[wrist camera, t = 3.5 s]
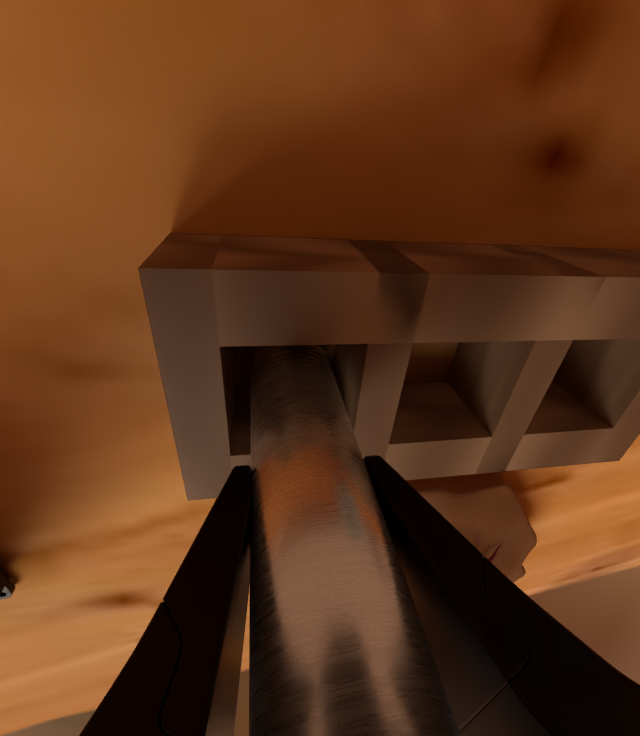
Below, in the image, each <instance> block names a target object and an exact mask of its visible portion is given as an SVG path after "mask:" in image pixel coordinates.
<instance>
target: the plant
mask: <svg viewBox="0 0 640 736" xmlns="http://www.w3.org/2000/svg"><path fill="white" fill-rule="evenodd" d="M406 481H407V482H408V483H409V484H410V485H411V486H412V487H413V488H414V489H415V490H416V491H417V492H418V493H419V494H421V495H422V496H423V497H424V498H425V499H426V500H427V501H428V502H429V503H430V504H431V505H432V506H433V507H434V508H435V509H436V510H437V511H438V512H439V513H440V514H441V515H442V516H443V517H444V518H446V519H447V520H448V521H449V522H450V523H451V524H452V525H453V526H454V527H455V528H456V529H457V530H458V531H459V532H460V533H461V534H462V535H463V536H464V537H465V538H466V539H467V540H468V541H469V542H471V543H472V544H473V545H474V546H475V547H476V548H477V549H478V550H479V551H480V552H481V553H482V554H483V557H486V558H487V559H488V560H489V561H490V562H492V563H493V564H494V565H495V566H496V567H497V568H498V569H499V570H500V571H501V572H502V573H503V574H504V575H505V576H506V577H507V578H509V579H510V580H511V581H512V582H515V581H516V580H518V579H519V578H521V577H523V576H524V575H525V573H526V572H525V569H524V567H523V566H522V563H523V561H524V560H525V558H526V557H527V555H528V554H529V552H530V551H531V550H532V549H533V548H534V547H535V545H536V543H537V539H536V534H535V532H534V530H533V528H532V527H531V525H530V522H529V520H528V518H527V516H526V514H525V512H524V510H523V508H522V506H521V503H520V501H519V499H518V497H517V496H516V494H515V493H514V491H513V489H512V488H511V487H510V485H509V484H508V483H507V481H506V480H505V479H504V477H503V476H502V475H501V473H500V472H491V473H480V474H470V475H459V476H448V477H437V478H426V479H416V480H406Z"/></svg>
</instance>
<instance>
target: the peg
mask: <svg viewBox="0 0 640 736" xmlns="http://www.w3.org/2000/svg"><path fill="white" fill-rule="evenodd" d="M250 467H251V523H250V659H249V677H250V678H249V736H461V734H460V731H459V728H458V725H457V723H456V720H455V717H454V714H453V711H452V708H451V706H450V703H449V700H448V697H447V694H446V691H445V689H444V686H443V683H442V680H441V677H440V674H439V672H438V669H437V666H436V663H435V660H434V657H433V655H432V652H431V649H430V646H429V643H428V640H427V638H426V635H425V632H424V629H423V626H422V623H421V621H420V618H419V615H418V612H417V609H416V606H415V604H414V601H413V598H412V595H411V592H410V590H409V587H408V584H407V581H406V578H405V575H404V573H403V570H402V567H401V564H400V561H399V558H398V556H397V553H396V550H395V547H394V544H393V541H392V539H391V536H390V533H389V530H388V527H387V524H386V522H385V519H384V516H383V513H382V510H381V507H380V505H379V502H378V499H377V496H376V493H375V490H374V488H373V485H372V482H371V479H370V476H369V473H368V471H367V468H366V465H365V462H364V459H363V456H362V454H361V451H360V448H359V445H358V442H357V440H356V437H355V434H354V431H353V428H352V425H351V423H350V420H349V417H348V414H347V411H346V408H345V406H344V403H343V400H342V397H341V394H340V391H339V389H338V386H337V383H336V380H335V377H334V374H333V372H332V369H331V366H330V363H329V360H328V357H327V355H326V353H325V351H324V349H323V348H322V346H321V345H281V346H261V347H260V348H259V349H258V350H257V351H256V353H255V355H254V357H253V359H252V363H251V450H250Z"/></svg>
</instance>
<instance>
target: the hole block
mask: <svg viewBox="0 0 640 736" xmlns="http://www.w3.org/2000/svg"><path fill="white" fill-rule="evenodd" d="M138 270H139V274H140V279H141V284H142V288H143V293H144V298H145V302H146V307H147V312H148V317H149V321H150V326H151V331H152V335H153V340H154V345H155V349H156V354H157V359H158V363H159V368H160V373H161V377H162V382H163V387H164V391H165V396H166V401H167V406H168V410H169V415H170V420H171V424H172V429H173V434H174V438H175V443H176V448H177V452H178V457H179V462H180V466H181V471H182V476H183V480H184V485H185V490H186V495H187V499H188V501H189V500H200V499H210V498H217V497H218V495H219V493H220V491H221V490H222V488H223V486H224V484H225V482H226V480H227V478H228V477H229V475H230V473H231V471H232V469H233V468H234V467H235V466H242V465H249V466H250V450H251V390H235V385H234V372H233V359H232V346H281V345H334V344H336V348H335V358H334V367H333V374H334V377H335V380H336V383H337V386H338V389H339V391H340V394H341V397H342V400H343V403H344V406H345V408H346V411H347V414H348V417H349V420H350V423H351V425H352V428H353V431H354V434H355V437H356V440H357V442H358V445H359V448H360V451H361V454H362V456H363V459H364V457H365V456H371V455H379V456H381V457H382V458H383V459H384V460H385V461H386V462H387V463H388V464H389V465H390V466H391V467H392V468H393V469H394V470H396V471H397V472H398V473H399V474H400V475H401V476H402V477H403V478H404V479H405V480H416V479H426V478H437V477H448V476H459V475H470V474H480V473H491V472H502V471H513V470H524V469H534V468H545V467H556V466H567V465H578V464H588V463H599V462H610V461H619V460H620V459H621V457H622V456H623V455H624V454H625V452H626V451H627V450H628V448H629V447H630V446H631V444H632V443H633V442H634V440H635V439H636V438H637V436H638V435H639V434H640V250H620V249H592V248H565V247H537V246H509V245H481V244H453V243H425V242H397V241H369V240H341V239H314V238H286V237H258V236H230V235H202V234H174V233H170V234H169V235H168V236H167V237H166V238H165V239H164V241H163V242H162V243H161V244H160V245H159V246H158V247H157V248H156V249H155V250H154V251H153V253H152V254H151V255H150V256H149V257H148V258H147V259H146V260H145V261H144V262H143V263H142V265H141V266H140V267H139V268H138ZM441 342H459V345H458V348H457V352H456V355H455V358H454V361H453V364H452V367H451V370H450V373H449V376H448V379H447V382H430V383H405V384H403V383H404V379H405V375H406V370H407V366H408V362H409V358H410V354H411V350H412V346H413V343H441Z"/></svg>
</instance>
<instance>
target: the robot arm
mask: <svg viewBox="0 0 640 736" xmlns="http://www.w3.org/2000/svg"><path fill="white" fill-rule="evenodd" d="M364 462H365V465H366V468H367V471H368V473H369V476H370V479H371V482H372V485H373V488H374V490H375V493H376V496H377V499H378V502H379V505H380V507H381V510H382V513H383V516H384V519H385V522H386V524H387V527H388V530H389V533H390V536H391V539H392V541H393V544H394V547H395V550H396V553H397V556H398V558H399V561H400V564H401V567H402V570H403V573H404V575H405V578H406V581H407V584H408V587H409V590H410V592H411V595H412V598H413V601H414V604H415V606H416V609H417V612H418V615H419V618H420V621H421V623H422V626H423V629H424V632H425V635H426V638H427V640H428V643H429V646H430V649H431V652H432V655H433V657H434V660H435V663H436V666H437V669H438V672H439V674H440V677H441V680H442V683H443V686H444V689H445V691H446V694H447V697H448V700H449V703H450V706H451V708H452V711H453V714H454V717H455V720H456V723H457V725H458V728H459V731H460V734H461V736H640V685H639V684H637V683H636V682H635V681H633V680H631V679H630V678H628V677H627V676H626V675H624V674H623V673H621V672H620V671H618V670H617V669H616V668H614V667H613V666H612V665H611V664H609V663H608V662H607V661H606V660H604V659H603V658H602V657H601V656H599V655H598V654H597V653H596V652H594V651H593V650H592V649H591V648H590V647H589V646H587V645H586V644H585V643H584V642H583V641H581V640H580V639H579V638H578V637H576V636H575V635H574V634H573V633H572V632H570V631H569V630H568V629H567V628H565V627H564V626H563V625H562V624H561V623H560V622H558V621H557V620H556V619H555V618H553V617H552V616H551V615H550V614H549V613H547V612H546V611H545V610H544V609H543V608H542V607H540V606H539V605H538V604H537V603H536V602H535V601H533V600H532V599H531V598H530V597H529V596H528V595H526V594H525V593H524V592H523V591H522V590H521V589H519V588H518V587H517V586H516V585H515V584H514V583H513V582H512V581H511V580H510V579H509V578H507V577H506V576H505V575H504V574H503V573H502V572H501V571H500V570H499V569H498V568H497V567H496V566H495V565H494V564H493V563H492V562H490V561H489V560H488V559H487V558H486V557H483V554H482V553H481V552H480V551H479V550H478V549H477V548H476V547H475V546H474V545H473V544H472V543H471V542H469V541H468V540H467V539H466V538H465V537H464V536H463V535H462V534H461V533H460V532H459V531H458V530H457V529H456V528H455V527H454V526H453V525H452V524H451V523H450V522H449V521H448V520H447V519H446V518H444V517H443V516H442V515H441V514H440V513H439V512H438V511H437V510H436V509H435V508H434V507H433V506H432V505H431V504H430V503H429V502H428V501H427V500H426V499H425V498H424V497H423V496H422V495H421V494H419V493H418V492H417V491H416V490H415V489H414V488H413V487H412V486H411V485H410V484H409V483H408V482H407V481H406V480H405V479H404V478H403V477H402V476H401V475H400V474H399V473H398V472H397V471H396V470H394V469H393V468H392V467H391V466H390V465H389V464H388V463H387V462H386V461H385V460H384V459H383V458H382V457H381V456H379V455H371V456H365V457H364ZM250 523H251V467H250V466H249V465H242V466H235V467H234V468H233V469H232V471H231V473H230V475H229V477H228V478H227V480H226V482H225V484H224V486H223V488H222V490H221V491H220V493H219V495H218V497H217V499H216V501H215V503H214V504H213V506H212V508H211V510H210V512H209V514H208V516H207V517H206V519H205V521H204V523H203V525H202V527H201V529H200V531H199V532H198V534H197V536H196V538H195V540H194V542H193V544H192V545H191V547H190V549H189V551H188V553H187V555H186V557H185V558H184V560H183V562H182V564H181V566H180V568H179V570H178V571H177V573H176V575H175V577H174V579H173V581H172V583H171V585H170V586H169V588H168V590H167V592H166V594H165V596H164V598H163V601H164V602H161V603H160V605H159V606H158V608H157V610H156V612H155V614H154V616H153V618H152V620H151V621H150V623H149V625H148V627H147V628H146V630H145V632H144V634H143V635H142V637H141V639H140V641H139V643H138V644H137V646H136V648H135V650H134V651H133V653H132V655H131V656H130V658H129V659H128V661H127V663H126V664H125V666H124V667H123V669H122V670H121V672H120V674H119V675H118V677H117V678H116V680H115V682H114V683H113V685H112V686H111V688H110V689H109V691H108V693H107V694H106V696H105V697H104V699H103V700H102V702H101V703H100V705H99V706H98V708H97V709H96V711H95V712H94V714H93V715H92V717H91V719H90V720H89V721H88V723H87V724H86V726H85V727H84V729H83V731H82V732H81V734H80V735H79V736H234V728H235V718H236V709H237V699H238V689H239V680H240V670H241V661H242V651H243V642H244V632H245V622H246V613H247V603H248V594H249V584H250ZM14 590H15V585H14V584H13V583H12V582H11V580H10V579H9V578H8V577H7V575H6V574H5V573H4V572H3V570H2V569H1V568H0V599H6V598H9V597H11V595H12V593H13V592H14Z"/></svg>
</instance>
